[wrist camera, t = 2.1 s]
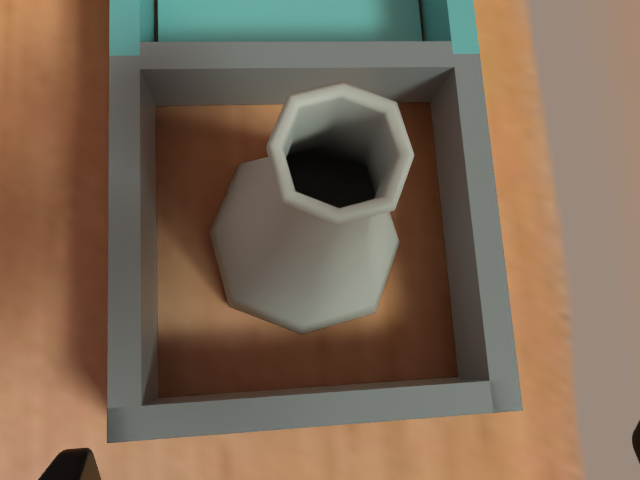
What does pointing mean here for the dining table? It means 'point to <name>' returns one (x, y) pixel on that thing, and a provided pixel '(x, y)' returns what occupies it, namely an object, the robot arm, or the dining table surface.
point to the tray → (273, 88)
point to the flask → (316, 211)
